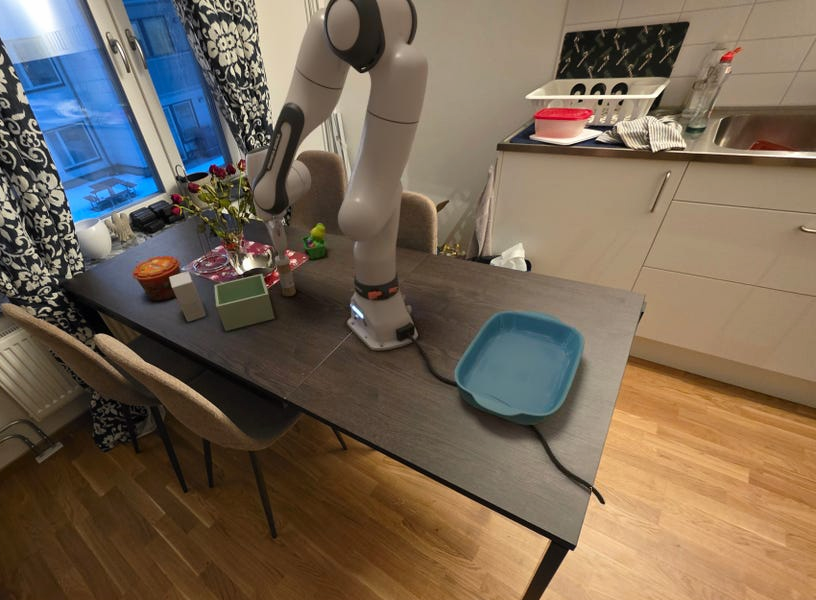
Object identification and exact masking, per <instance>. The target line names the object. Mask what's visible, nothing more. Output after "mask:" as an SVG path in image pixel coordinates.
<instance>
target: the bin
mask: <svg viewBox="0 0 816 600" xmlns="http://www.w3.org/2000/svg"><path fill="white" fill-rule="evenodd" d="M213 287H214V297H215V306H216V310H217V312H218V315H219V318H220V320H221V323H222V326H223V329H224V331H225V332H228V331H231V330H236V329H240V328H243V327H247V326H251V325H254V324H255V325H256V324H260V323H263V322H267V321H270V320H274V319H276V317H275V314H274V310H273V305H272V302H271V298H270V294H269V291H268V288H267V287H268V286H267V285H266V282H265V279H264V274H263V273H260V274H255V275H251V276H247V277H243V278H238V279H234V280H230V281H226V282H221V283H217V284H214V285H213Z"/></svg>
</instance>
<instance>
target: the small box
mask: <svg viewBox="0 0 816 600" xmlns="http://www.w3.org/2000/svg"><path fill="white" fill-rule="evenodd" d="M169 279H170V283H171V286H172V289H173V291H174V293H175V295H176V296H175V297H176V300H177V302H178V304H179V306H180V308H181V310H182V311H181V312H182V313H183V315H184V317H185V320H186V322H187V323H189V322H192V321H196V320H199V319H201V318H204V317H206V316H207V313H206V310H205V307H204V306H203V302H202V301H201V299H200V296H199V294H198V291H197V289H196V287H195V284H194V281H193V278H192V277H191V274H190V272H189V271H184V272H181V273H180V274H177V275H174V276H171V277H169Z"/></svg>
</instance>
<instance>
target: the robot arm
mask: <svg viewBox="0 0 816 600" xmlns="http://www.w3.org/2000/svg"><path fill="white" fill-rule="evenodd" d="M417 29H418V13H417V10H416V7H415V4H414V2H413V1H412V0H329V1H328V3H327V5H326V7H321V8H319V9H316V10H315V12H313V13H312V16H311V17H310V20H309V21H308V23H307V27H306V29H305V32H304V34H303V37H302V41H301V43H300V46H299V50H298V54H297V56H296V57H297V58H296V61H295V66H294V70H293V74H292V77H291V81H290V85H289V88H288V91H287V93H286V98H285V100H284V103H283V105H282V107H281V110H280V112H279V115H278V117H277V120H276V123H275V125H274V128H273V131H272V134H271V138H270V141H269V145H268V144H267V145H262V146H258V147H257V148H256V147H255V148H254V149H251V150H249V151H248V152H247V153H246V155H245V168H246V174H247V179H248V183H249V187H250V188H251V193H252V200H253V204H254V209H255V215H256V218H257V219H258V220H261V221H262V223H263V224H265V225H264V226H265V227H266V229H267V232H268V234H269V237H270V240H271V242H272V244H273V245H272V246H273V247H274V249H275V251H276V252H277V254H278V255H279V259H280V260H285V254H286V251H287V250H288V249H289V246H288V240H287V235H286V232H285V231H286V230H285V227H284V224H283V221H284V219H285V218H284V217H285V215H286V214H287V213H288V211H287V209H288V208H289V207H290V206H291V205H293V204H294V203H296V202H298V201H299V200H300V199H302V198H304V196H306V195H307V194H308V193H309V192H311V189H312V185H313V178H312V174H311V171H310V169H309V167H308V165H306V164H305V163H304V162H303V161H301V160H299V159H295V158H296V156H297V152H298V150H299V148H300V146H301V145H302V143H303V142H304V141H305V140H306V139H307V137H308V136H309V135H310V134H311V133H313V132H314V131H315V130H316V129H317V128H318V127H319V126H321V125H322V124H323V123H325V121H327V120H328V119H329V118H330V117H331V116H332V115H333V113H334V111H335V109H336V107H337V106H338V103H339V101H340V99H341V97H342V94H343V90H344V87H345V83H346V81H347V77H348V74H349V71H350V69H351V67H352V68H353V69H354V70H355V71H356V72H357V73H359V74H366V73H368V74H369V79H370V90H369V96H368V101H367V106H366V111H365V116H364V120H363V121H364V122H363V126H362V130H361V131H362V132H361V137H360V141H359V142H360V143H359V147H358V151H357V155H356V158H355V161H354V164H353V167H352V170H351V173H350V176H349V180H348V182H347V183H348V184H347V186H346V190H345V193H344V198H343V201H342V203H341V206H340V207H339V210H338V214H337V223H338V227H339V229H340V231H341V232H342V233H343V235H344V236H345V237H346V238H348V239H349V240H351V241H353V242H354V246H353V252H352V253H353V264H354V276H353V286H354V293H353V295H352V296H351V298H350V316H351V317H350V318H349V319H347V322H346V325H347V327H348V328H349V329H350V330H351V331H352V332H353V333H354V334H355V335H356V336H357V337H358V338H359V339H360V340H361V341H362V342H363V343H364V344H365V345H366V346H367V348H368V349H370V350H371V351H377V352H379V351H380V352H381V351H390V350H395V349H398V348H401V347H405V346H407V345H410V344H412V343H413V344H414V345H415V346H416V348H417V349H418V351H419V352H420V354H421V355H422V357H423V359H424V361H425V364H426V366H427V368H428V370H429V371H430V373H431V374H432V375H434V377H436V378H437V379H438V380H441V381H442V382H445V383H447V384H449V385H453V386H457V384H456V381H455V380H452V379H448V378H446V377H444V376H442V375H440V374H439V373H438V372H436V371H435V370H434V369H433V367H432V364H431V362H430V360H429V358H428V356H427V354H426V352H425V351H424V349H423V347H422V346H421V345H420V344H419V342H418V341H417V339H418V338H419V334H418V331H417V329H416V325H415V324H414V321H413V319H412V316H411V314H412V311H413V310H412V309H413V308H412V306H411V304H408V305H406V303H405V300H406V295H405V294H402V292H401V288H400V287H401V286H400V285H399V284H400V282H399V277H398V273H397V239H398V233H399V225H400V218H401V217H400V216H401V215H400V214H401V206H402V205H401V204H402V197H403V192H404V191H403V190H404V187H403V182H402V180H401V179H402V177H403V174H404V171H405V168H406V166H407V164H408V162H409V160H410V159H409V158H410V156H411V155H410V154H411V152H412V147H413V144H414V140H415V136H416V133H417V130H418V125H419V122H420V119H421V115H422V111H423V106H424V102H425V97H426V91H427V83H428V75H429V62H428V59H427V57H426V55H425V54H424V52H423V51H421V50H420V48H418V47H416V46H414V45H412V43H413V42H414V40H415V38H416V34H417ZM278 255H277V256H278ZM487 395H488V394H487ZM489 396H490V395H489ZM491 397H493V396H491ZM494 398H495V397H494ZM496 399H497V398H496ZM497 400H499V399H497ZM499 401H501V400H499ZM501 402H502V401H501ZM503 403H504V402H503ZM505 404H506V403H505ZM506 405H507V404H506ZM508 406H509V405H508ZM509 407H510V406H509ZM527 426H528V427H529V428H530V429H531V430H532V432H534V434H535V435H536V436H537V437H538V439H539V440H540V442H541V444H542V446H543V448H544V449H545V451H546V453H547V454H548V456H549V458H550V459H551V461H552V462H553V464H554V465H555V466H556V467H557V468H558V469H559V470H560V471H561V472H563V474H565V475H567V476H568V477H569V478H571V479H572V480H574V481H576V482H577V483H579V484H581V485H583V486H584V487H586V488H587V489H588V490H589V491H591V488H590V487H592V486H593V485H592V484H591V483H589V482H588V481H586V480H585V479H583V478H581V477H579V476H578V475H576V474H575V473H573V472H571V471H569V470H568V469H567V468H566V467H564V465H563V464H562V463H561V462H560V461H559V460H558V459H557V457H556V456H555V454H554V453H553V451H552V450H551V447H550V446H549V445H548V442H547V440H546V439H545V438H544V436H543V435H542V433H541V432H540V431H539V430H538V429H537V427H536V426H534V425H527ZM591 493H592V494H593V495H594V496H595V497H596V498H597V500H598V502H599V503H600V504H602V505H604V506H605V505H606V501H605V499H604V497H603V496H602V494H601V492H599V490H598V489H596V488H595V487H594V486H593V487H592V491H591Z"/></svg>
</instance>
